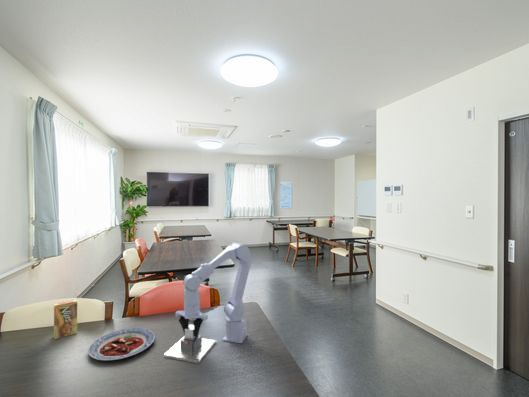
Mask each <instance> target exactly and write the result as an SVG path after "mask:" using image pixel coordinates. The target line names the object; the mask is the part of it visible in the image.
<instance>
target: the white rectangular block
mask: <svg viewBox="0 0 529 397" xmlns="http://www.w3.org/2000/svg"><path fill="white" fill-rule="evenodd" d="M184 336H185V340H188V341H194V340H195V339H196V338H197V337H198V335H197V336H195V335H194V324H188V326H187V327H186V328H185V335H184Z"/></svg>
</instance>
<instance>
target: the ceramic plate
mask: <svg viewBox="0 0 529 397" xmlns="http://www.w3.org/2000/svg"><path fill="white" fill-rule="evenodd" d="M155 336H156V335H155V333H154V332H153V331H152V330H150V329H147V328H141V327H138V328H135V327H133V328H132V327H131V328H124V329H120V330H116V331H112V332H111V333H110V332H109V333H107V334H106V335H103V336H100V337H99V338H98V339H96V340H94V342H93V343H91V344H90V346H89V348H88V351H87V352H88V355H89V357H91V358H92V359H95V360H98V361H115V360H121V359H126V358H129V357H132V356H134V355H137V354H139V353H142V352H143V351H145V350H146V349H148V348H149V347H150V346H151V345H152V344H153V343H154V341H155V340H156V337H155Z"/></svg>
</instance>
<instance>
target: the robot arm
mask: <svg viewBox="0 0 529 397" xmlns="http://www.w3.org/2000/svg"><path fill="white" fill-rule="evenodd" d="M250 254H251V250H250V248H249V247H248V246H247V245H245V244H242V243H239V242H237V241H234V242H232V243H230V245H228V246H226V247H225V249H224V250H223V251H222V252H220V253H219V254H218V255H217V256H216V257H214V259H212V260H211V261H210V262H208V263H207V262H205V263H201V264H200V267H198V268H197V269H196V270H195V271H192V272H191V274H187V275H186V276H185V277H184V279H183V281H182V283H183V286H184V290H185V311H184V310H177V311H175V313H174V314H175V315H174V316H175V317H176V318H178V317H180V318H179V319H178V322H179V324H180V326H181V328H182V330H183V335H184V336H185V328H186V327H187V326H189V325H190V322H189V321H190V320H189V318H195V320H193V321H192V323H193V324H192V325H194V335H195V336H197V335H198V334H199V335H200V333H199V332H200V328H201V326H202V323H203V321H205V322H206V321H207V320H208V319H209V315H208V313H204V312H201V311H200V312H198V291H199V288H200V286H201V283H203V282H205V280H207V279H208V278H209V277H211V276H212V275H213V273H214V270H215V269H216V268H218V267H219V266H220V265H222V264H223V263H224V262H226V261H227V260H230V259H232V260H233V259H236V261H238V264H239V265H238V268H237V270H236V271H237V272H236V276H235V280H234V284H233V288H232V291H231V296H229V297H228V298H227V302H225V304H224V307H223V311H224V313H225V315H226V316H225V335H224V337H223V338H222V341H223V342H224V341H225V342H231V343H237V344H238V343H239V344H242V343H243V342H244V340H245V339H246V337H247V336H248V332H247V326H248V324H247V319H243V317H244V315H245V314H244V313H245V312H244V304H245V303H244V301H243V297H244V293H245V290H246V285H247V281H248V278H249V277H248V276H249V272H250V269H251V264H252V260H251V259H252V258H251V255H250Z"/></svg>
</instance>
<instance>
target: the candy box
mask: <svg viewBox="0 0 529 397" xmlns="http://www.w3.org/2000/svg"><path fill="white" fill-rule="evenodd" d="M76 334H78V301H77V299H73V300H69V301H63V302H57V303H54V305H53V339H54V340H57V339H60V338H63V337H67V336H68V337H69V336H72V335H76Z"/></svg>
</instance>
